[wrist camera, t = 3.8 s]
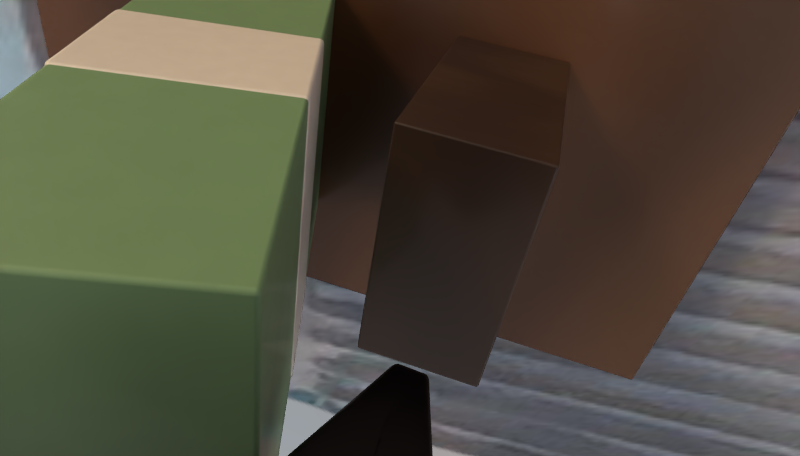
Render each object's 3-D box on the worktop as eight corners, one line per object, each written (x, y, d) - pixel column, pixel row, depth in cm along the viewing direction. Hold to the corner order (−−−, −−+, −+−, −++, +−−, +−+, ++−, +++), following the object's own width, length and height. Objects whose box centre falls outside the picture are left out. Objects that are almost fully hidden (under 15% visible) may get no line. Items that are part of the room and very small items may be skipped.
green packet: (238, 166, 20) (-201, 408, 11) (235, -47, 16) (-478, 45, 7) (477, 275, 17) (163, 729, 8) (548, 49, 13) (72, 443, 4)
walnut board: (90, 196, 23) (-60, 298, 18) (2, -244, 15) (-327, -299, 10) (631, 368, 20) (645, 552, 15) (895, -68, 12) (1140, -3, 6)
